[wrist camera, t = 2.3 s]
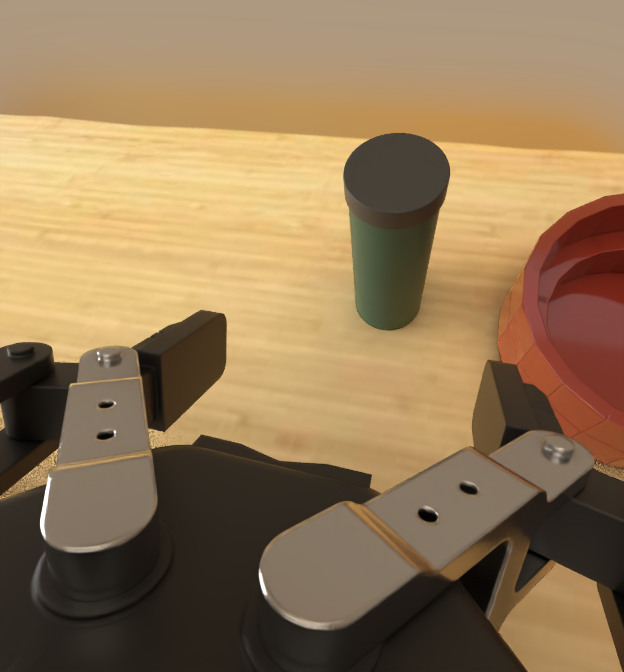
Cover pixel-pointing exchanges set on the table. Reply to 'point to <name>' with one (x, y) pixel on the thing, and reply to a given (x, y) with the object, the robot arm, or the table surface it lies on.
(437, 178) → the tube
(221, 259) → the table surface
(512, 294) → the bowl
